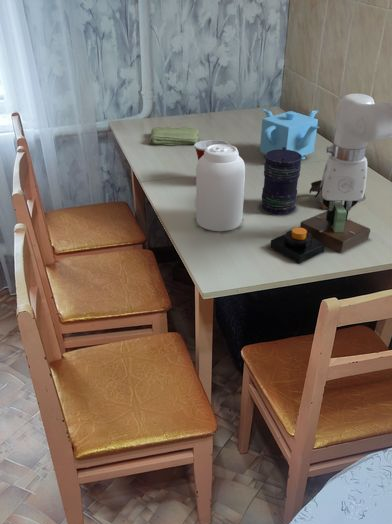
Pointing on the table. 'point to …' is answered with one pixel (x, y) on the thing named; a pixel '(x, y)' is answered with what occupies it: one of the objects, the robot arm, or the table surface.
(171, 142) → the washcloth
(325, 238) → the base
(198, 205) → the can
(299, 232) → the button
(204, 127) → the table surface
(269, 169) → the storage jar
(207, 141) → the plastic cup
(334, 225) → the pale green flat block
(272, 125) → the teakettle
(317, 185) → the pottery mug
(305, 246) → the button block
